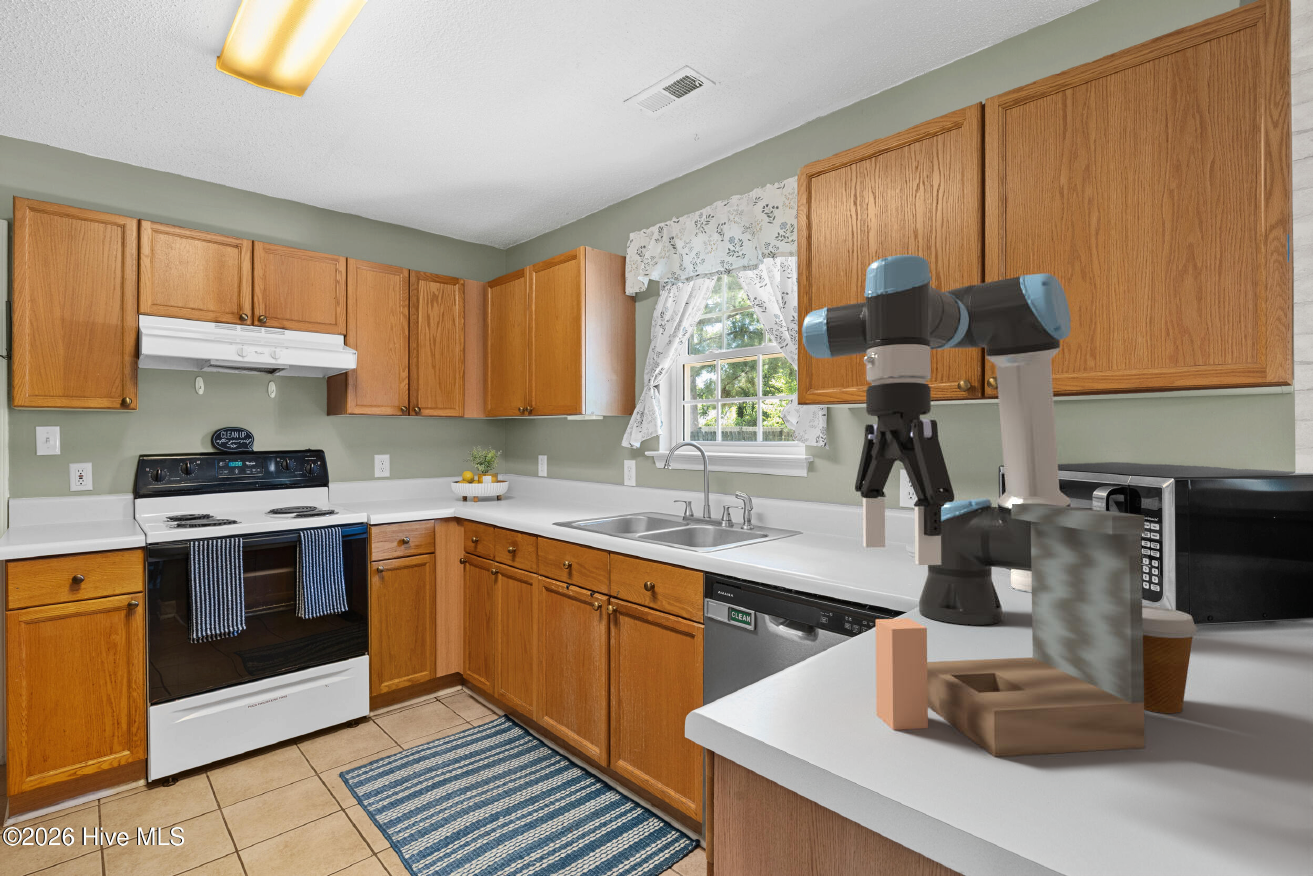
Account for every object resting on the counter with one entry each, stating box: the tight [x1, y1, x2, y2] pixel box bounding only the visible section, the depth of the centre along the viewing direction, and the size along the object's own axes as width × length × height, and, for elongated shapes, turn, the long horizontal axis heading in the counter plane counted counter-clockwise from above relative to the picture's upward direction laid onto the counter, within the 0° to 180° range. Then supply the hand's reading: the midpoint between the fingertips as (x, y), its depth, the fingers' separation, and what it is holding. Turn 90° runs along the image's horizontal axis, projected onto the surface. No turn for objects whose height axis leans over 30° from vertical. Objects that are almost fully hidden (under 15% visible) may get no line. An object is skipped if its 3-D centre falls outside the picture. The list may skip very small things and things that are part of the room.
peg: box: [875, 617, 929, 731], centre depth 80 cm, size 4×4×12 cm
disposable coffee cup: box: [1142, 604, 1198, 714], centre depth 85 cm, size 10×10×12 cm
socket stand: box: [927, 503, 1146, 758], centre depth 79 cm, size 17×18×26 cm
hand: (898, 555), depth 80 cm, fingers open, 13 cm apart
